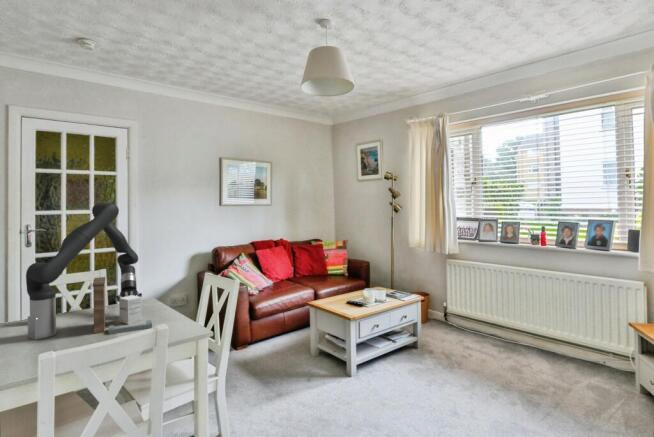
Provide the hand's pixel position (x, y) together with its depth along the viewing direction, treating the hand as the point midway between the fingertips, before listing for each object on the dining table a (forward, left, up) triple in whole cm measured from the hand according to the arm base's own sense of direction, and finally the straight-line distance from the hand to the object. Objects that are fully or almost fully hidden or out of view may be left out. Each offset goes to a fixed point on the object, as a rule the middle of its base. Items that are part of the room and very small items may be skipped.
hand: (129, 310), depth 186 cm
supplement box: (-3, -4, -4) cm, 7 cm away
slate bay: (-10, -14, -4) cm, 18 cm away
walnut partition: (-16, 0, -4) cm, 16 cm away
